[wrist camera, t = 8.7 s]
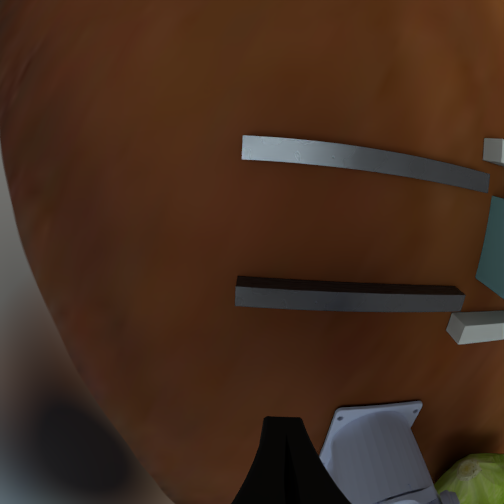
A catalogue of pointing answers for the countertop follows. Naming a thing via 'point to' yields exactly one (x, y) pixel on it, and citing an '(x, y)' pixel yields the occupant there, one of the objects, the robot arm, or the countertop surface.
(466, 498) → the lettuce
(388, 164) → the parallel guide rails
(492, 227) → the teal block
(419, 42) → the countertop surface
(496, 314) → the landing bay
